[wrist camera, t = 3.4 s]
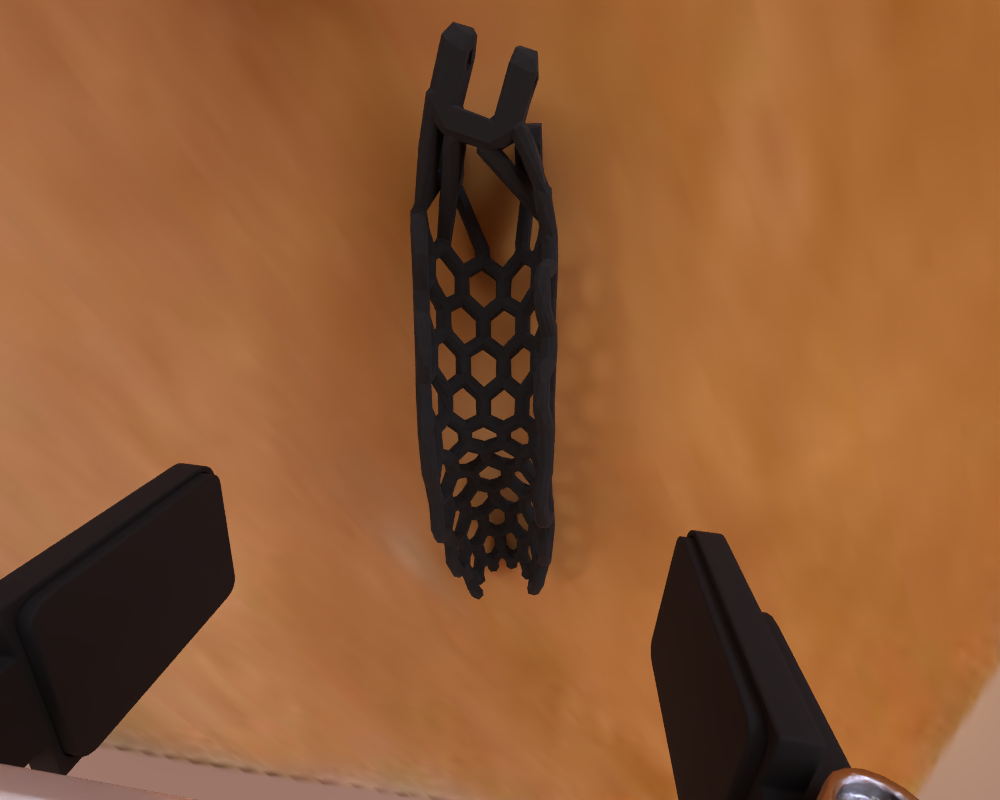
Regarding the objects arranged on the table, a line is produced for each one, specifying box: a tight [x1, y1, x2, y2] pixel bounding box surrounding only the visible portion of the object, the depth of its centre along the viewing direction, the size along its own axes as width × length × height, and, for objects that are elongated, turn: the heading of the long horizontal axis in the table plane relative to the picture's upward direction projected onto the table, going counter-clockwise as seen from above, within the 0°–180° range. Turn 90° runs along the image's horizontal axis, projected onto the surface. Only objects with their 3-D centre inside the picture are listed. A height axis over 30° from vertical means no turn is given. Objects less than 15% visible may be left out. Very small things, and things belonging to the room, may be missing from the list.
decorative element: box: [410, 22, 558, 599], centre depth 19 cm, size 22×5×6 cm, turn 3°
